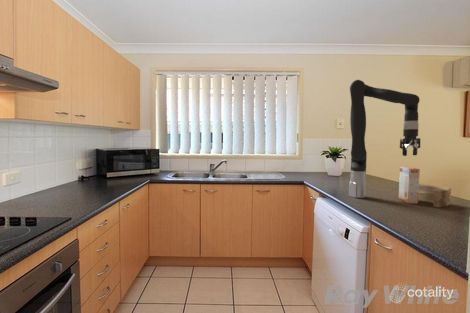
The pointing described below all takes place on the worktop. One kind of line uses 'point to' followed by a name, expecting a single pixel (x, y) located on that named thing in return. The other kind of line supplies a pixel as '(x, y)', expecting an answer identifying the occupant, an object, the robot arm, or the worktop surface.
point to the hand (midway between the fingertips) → (409, 155)
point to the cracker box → (409, 184)
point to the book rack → (434, 194)
